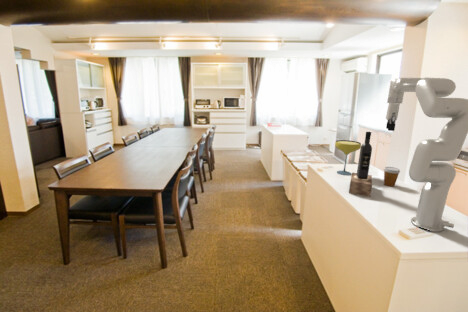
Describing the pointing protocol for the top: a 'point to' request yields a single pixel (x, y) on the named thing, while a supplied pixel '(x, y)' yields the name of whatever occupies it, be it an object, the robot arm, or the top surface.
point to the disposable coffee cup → (390, 176)
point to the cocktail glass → (347, 150)
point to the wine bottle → (364, 158)
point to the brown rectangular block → (360, 185)
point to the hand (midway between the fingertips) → (390, 129)
